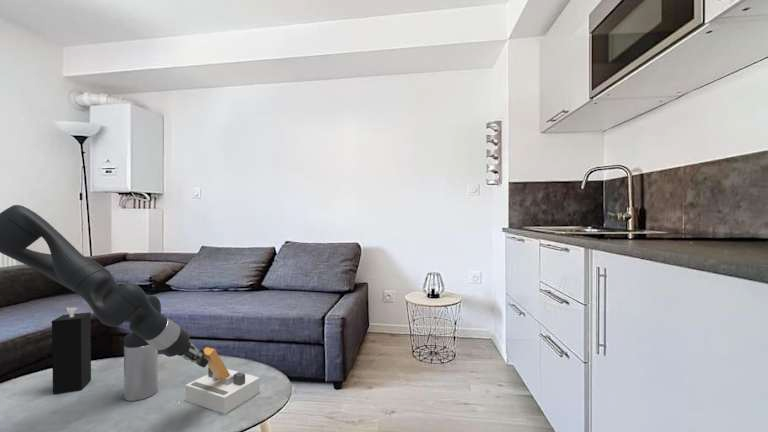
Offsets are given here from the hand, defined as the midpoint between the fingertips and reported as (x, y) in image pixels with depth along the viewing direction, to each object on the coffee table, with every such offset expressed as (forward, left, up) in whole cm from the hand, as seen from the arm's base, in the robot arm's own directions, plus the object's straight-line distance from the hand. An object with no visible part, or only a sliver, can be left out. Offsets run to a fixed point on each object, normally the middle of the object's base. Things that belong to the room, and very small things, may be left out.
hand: (205, 364), depth 107 cm
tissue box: (-50, -20, -14) cm, 56 cm away
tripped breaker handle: (-1, +7, -7) cm, 10 cm away
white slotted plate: (-1, +7, -13) cm, 15 cm away
